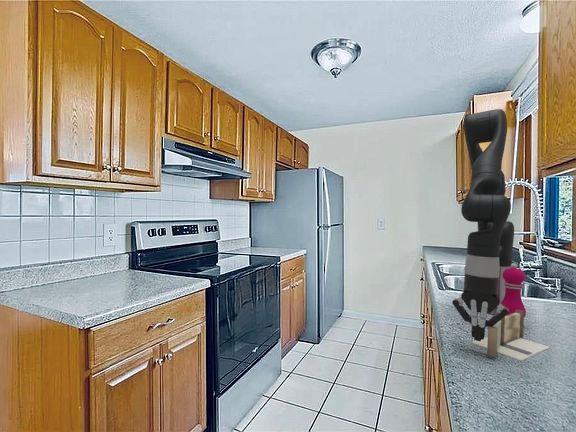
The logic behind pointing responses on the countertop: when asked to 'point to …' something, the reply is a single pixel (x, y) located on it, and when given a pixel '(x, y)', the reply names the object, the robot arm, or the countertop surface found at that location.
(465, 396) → the countertop surface
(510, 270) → the pepper mill
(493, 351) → the fence gate
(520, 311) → the fence fixed
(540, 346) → the card
